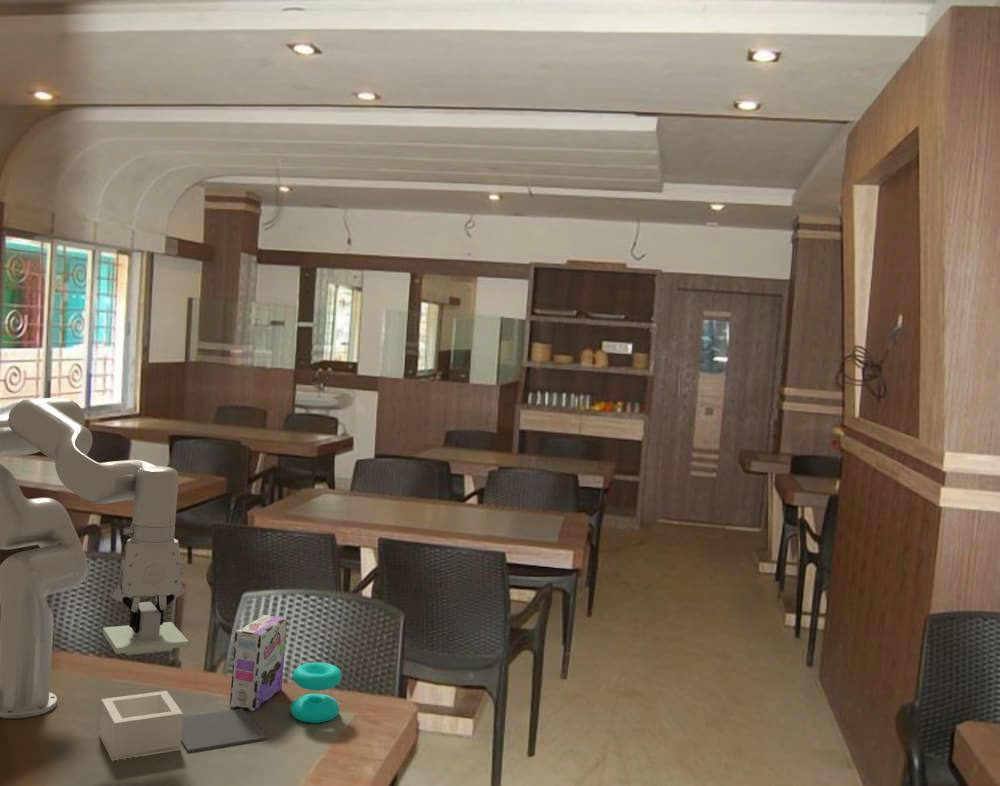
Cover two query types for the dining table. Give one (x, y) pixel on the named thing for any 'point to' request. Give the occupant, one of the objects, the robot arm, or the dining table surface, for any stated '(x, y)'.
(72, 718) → the dining table surface
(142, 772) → the dining table surface
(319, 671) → the donuts
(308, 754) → the dining table surface
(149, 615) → the lid
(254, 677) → the candy box
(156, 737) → the storage box
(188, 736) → the rubber mat
